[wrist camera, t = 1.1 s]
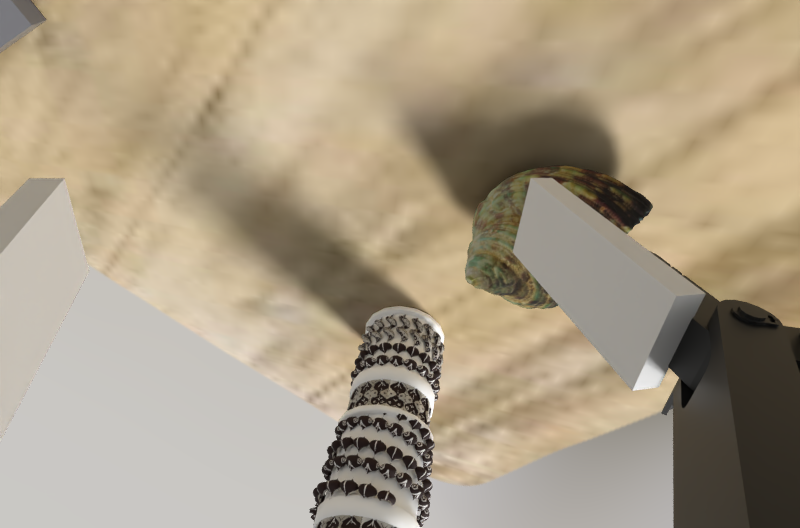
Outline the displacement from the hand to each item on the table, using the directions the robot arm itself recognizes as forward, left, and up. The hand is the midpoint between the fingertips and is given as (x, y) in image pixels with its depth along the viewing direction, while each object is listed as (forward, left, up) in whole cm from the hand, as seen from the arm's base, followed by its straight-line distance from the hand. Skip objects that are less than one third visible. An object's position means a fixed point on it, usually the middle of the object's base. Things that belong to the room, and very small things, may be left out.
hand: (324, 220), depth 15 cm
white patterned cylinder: (+29, +9, -24) cm, 39 cm away
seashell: (+9, +14, -24) cm, 29 cm away
